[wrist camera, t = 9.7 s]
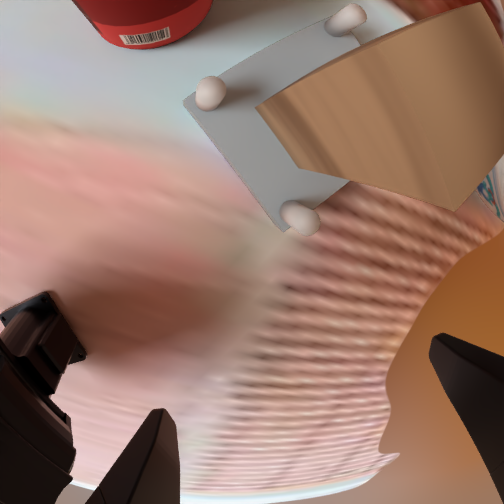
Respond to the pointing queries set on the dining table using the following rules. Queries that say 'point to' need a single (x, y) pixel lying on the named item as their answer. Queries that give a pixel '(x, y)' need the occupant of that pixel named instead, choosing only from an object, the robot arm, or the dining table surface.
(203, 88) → the peg seat
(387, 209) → the dining table surface
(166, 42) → the canned food
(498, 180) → the chinaware
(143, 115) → the dining table surface
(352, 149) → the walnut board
